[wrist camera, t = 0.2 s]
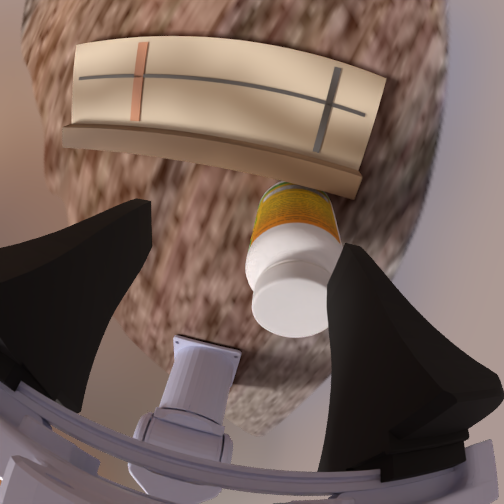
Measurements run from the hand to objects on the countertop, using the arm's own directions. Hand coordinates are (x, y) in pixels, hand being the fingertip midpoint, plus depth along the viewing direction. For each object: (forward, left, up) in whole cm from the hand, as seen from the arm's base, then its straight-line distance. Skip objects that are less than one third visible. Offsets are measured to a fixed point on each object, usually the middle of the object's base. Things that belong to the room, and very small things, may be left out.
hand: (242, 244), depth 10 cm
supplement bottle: (-3, -3, -10) cm, 11 cm away
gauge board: (+4, +5, -10) cm, 12 cm away
